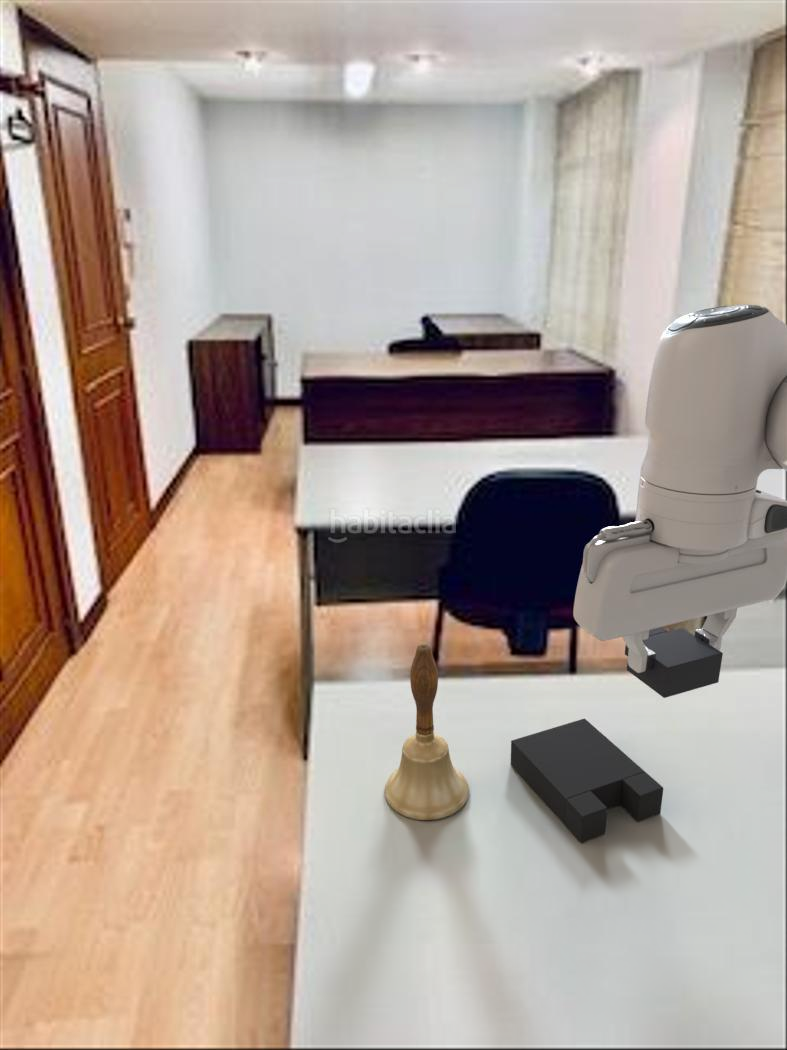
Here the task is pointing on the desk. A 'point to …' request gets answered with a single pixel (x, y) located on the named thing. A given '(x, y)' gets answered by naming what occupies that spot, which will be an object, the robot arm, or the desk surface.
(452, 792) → the hand bell
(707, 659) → the graphite pad
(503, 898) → the desk surface
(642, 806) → the black pad
